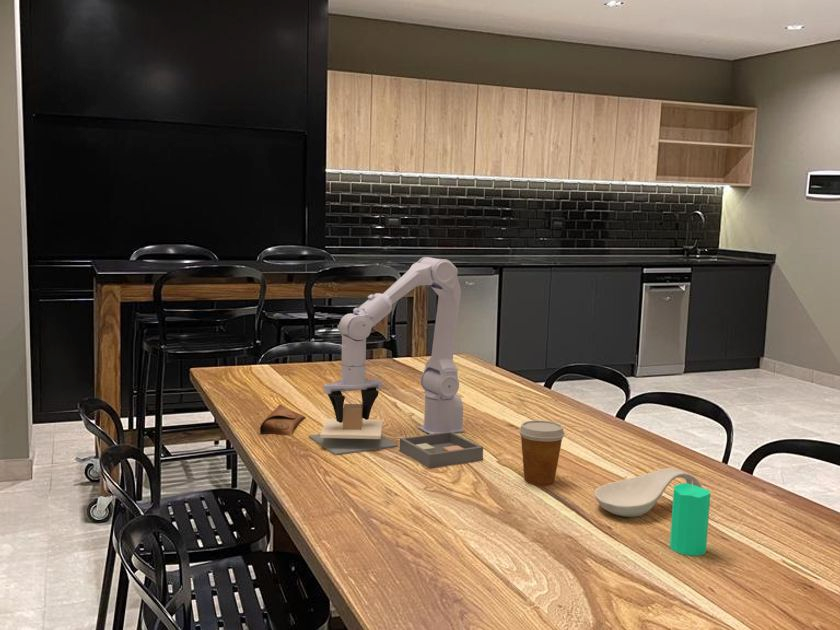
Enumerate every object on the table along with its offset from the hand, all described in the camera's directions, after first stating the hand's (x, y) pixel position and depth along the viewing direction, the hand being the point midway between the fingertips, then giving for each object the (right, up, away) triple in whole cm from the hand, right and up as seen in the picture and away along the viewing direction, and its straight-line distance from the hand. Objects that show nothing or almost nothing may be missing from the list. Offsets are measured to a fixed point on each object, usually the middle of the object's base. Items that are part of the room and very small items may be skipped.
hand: (352, 420), depth 199 cm
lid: (0, -2, 0) cm, 2 cm away
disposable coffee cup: (+41, -10, -24) cm, 49 cm away
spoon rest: (+61, -13, -37) cm, 72 cm away
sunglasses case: (-19, -4, +14) cm, 24 cm away
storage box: (+21, -7, -8) cm, 23 cm away
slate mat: (0, -5, +1) cm, 5 cm away
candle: (+62, -15, -56) cm, 85 cm away
